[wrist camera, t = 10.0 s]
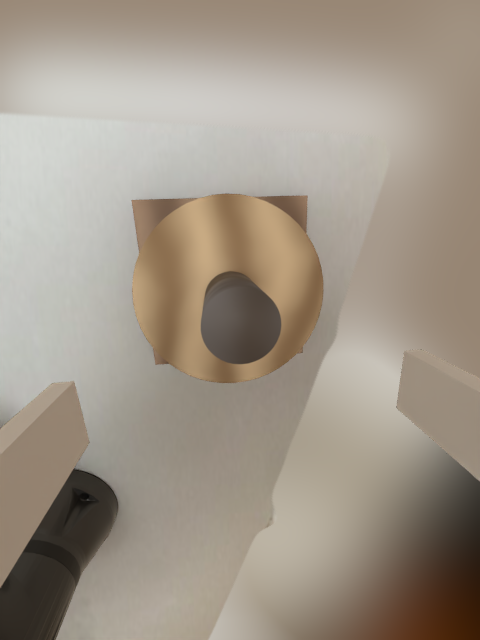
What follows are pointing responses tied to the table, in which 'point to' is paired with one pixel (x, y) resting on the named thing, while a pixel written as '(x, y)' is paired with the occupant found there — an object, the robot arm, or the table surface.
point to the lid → (227, 288)
